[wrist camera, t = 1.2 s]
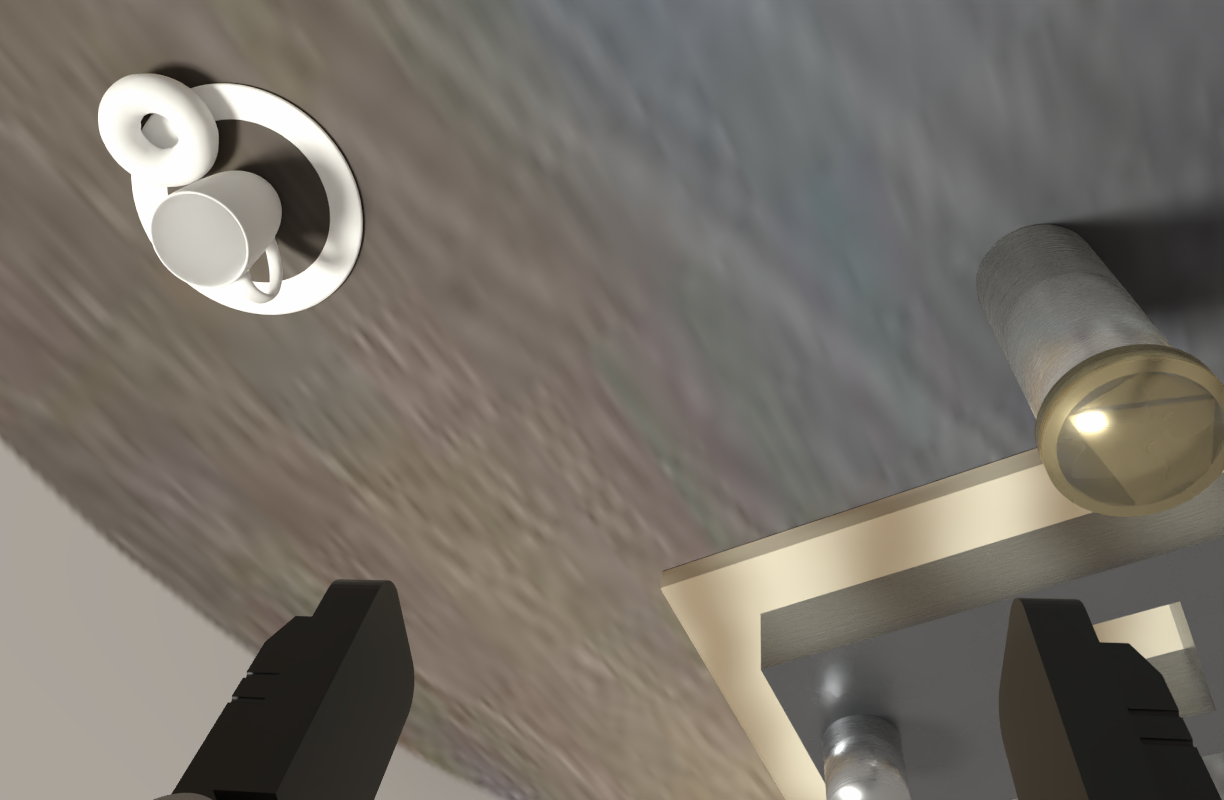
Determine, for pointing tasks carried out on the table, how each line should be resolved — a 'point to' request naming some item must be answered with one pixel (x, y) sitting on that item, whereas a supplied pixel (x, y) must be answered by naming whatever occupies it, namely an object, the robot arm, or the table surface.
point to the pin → (1100, 378)
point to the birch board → (852, 554)
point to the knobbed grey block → (986, 648)
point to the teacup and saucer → (225, 190)
